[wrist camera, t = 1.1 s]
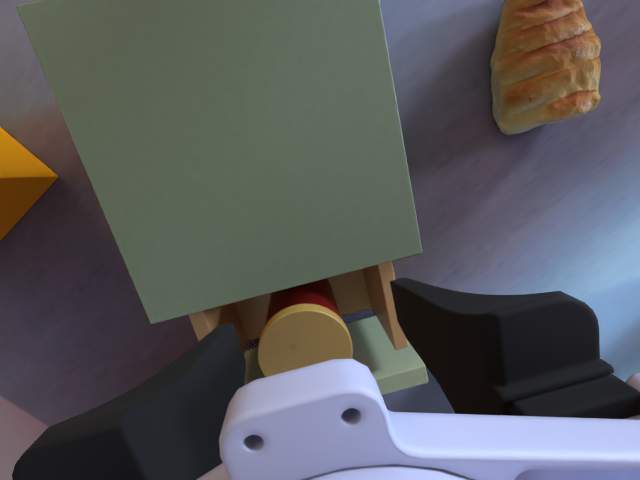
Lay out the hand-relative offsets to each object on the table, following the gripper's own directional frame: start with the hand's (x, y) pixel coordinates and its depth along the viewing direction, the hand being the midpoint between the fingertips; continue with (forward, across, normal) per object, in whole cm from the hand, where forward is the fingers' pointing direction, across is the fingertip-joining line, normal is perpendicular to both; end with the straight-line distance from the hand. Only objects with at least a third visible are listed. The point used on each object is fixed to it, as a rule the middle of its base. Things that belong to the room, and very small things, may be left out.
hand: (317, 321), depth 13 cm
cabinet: (+10, +1, -8) cm, 13 cm away
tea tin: (+8, +1, +2) cm, 9 cm away
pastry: (+10, -18, -9) cm, 23 cm away
